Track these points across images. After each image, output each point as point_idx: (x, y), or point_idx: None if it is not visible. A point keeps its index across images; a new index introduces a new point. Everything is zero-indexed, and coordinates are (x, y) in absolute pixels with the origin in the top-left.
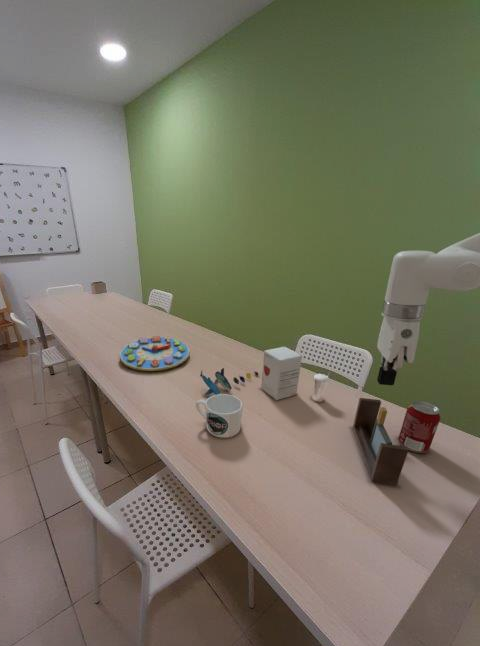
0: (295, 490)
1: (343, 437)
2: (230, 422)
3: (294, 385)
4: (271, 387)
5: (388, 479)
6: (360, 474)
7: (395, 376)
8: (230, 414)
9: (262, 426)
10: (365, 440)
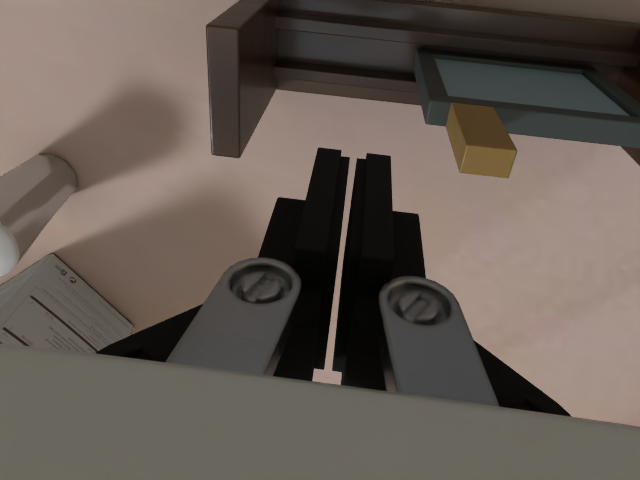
0: (608, 345)
1: (339, 142)
2: None
3: (41, 302)
4: None
5: None
6: (567, 147)
7: (390, 210)
8: None
9: (314, 380)
10: (407, 91)
